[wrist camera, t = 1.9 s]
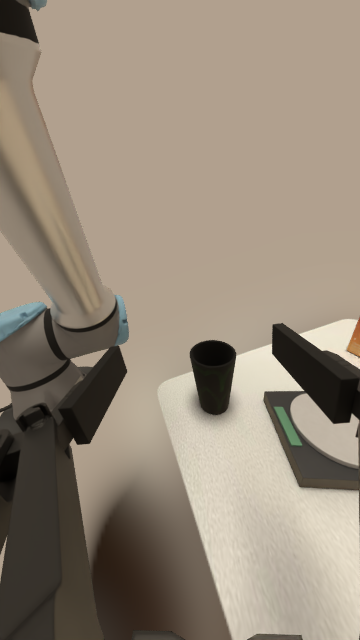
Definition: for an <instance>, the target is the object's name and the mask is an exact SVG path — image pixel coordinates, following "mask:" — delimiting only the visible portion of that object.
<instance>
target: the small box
mask: <svg viewBox="0 0 360 640" xmlns="http://www.w3.org/2000/svg"><path fill="white" fill-rule="evenodd" d="M347 351H349V352H351V353H353V354H355V355H357V356H359V357H360V318H359V320H358V322H357V325H356V327H355V330H354V332H353V335H352V338H351V340H350V343H349V345H348V348H347Z"/></svg>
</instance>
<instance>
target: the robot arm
mask: <svg viewBox="0 0 360 640" xmlns="http://www.w3.org/2000/svg"><path fill="white" fill-rule="evenodd" d="M46 3H47V0H0V231H1V233H2V234H3V235H4V237H5V238H6V239H7V241H8V242H9V243H10V245H11V246H12V247H13V249H14V250H15V252H16V253H17V254H18V256H19V257H20V258H21V260H22V261H23V262H24V264H25V265H26V266H27V268H28V269H29V270H30V272H31V273H32V275H33V276H34V277H35V279H36V280H37V281H38V283H39V284H40V286H41V287H42V288H43V290H44V291H45V292H46V294H47V295H48V296H49V298H50V299H51V300H52V304H51V308H50V309H47V306H46V305H45V304H44V303H42V302H35V303H30V304H26V305H23V306H19V307H17V308H13V309H11V310H8V311H5V312H3V313H0V378H1V379H2V380H3V382H4V383H5V384H6V386H7V387H8V388H9V390H10V392H11V399H12V404H11V405H8V406H6V407H4V408H1V409H0V412H2V411H5V410H7V409H10V408H12V407H13V416H14V418H15V421H16V423H17V424H18V426H19V427H20V429H21V430H22V431H21V432H18V433H15V434H11V432H10V431H9V430H8V429H1V430H0V554H1V551H2V548H3V545H4V543H5V540H6V537H7V542H6V548H5V555H4V561H3V568H2V575H1V582H0V640H104V636H103V633H102V630H101V627H100V624H99V621H98V617H97V612H96V606H95V599H94V593H93V587H92V580H91V573H90V567H89V560H88V553H87V547H86V540H85V534H84V527H83V521H82V514H81V508H80V501H79V494H78V488H77V482H76V475H75V468H74V462H73V455H72V449H71V447H70V445H69V444H70V442H71V441H72V439H73V438H74V440H75V441H76V443H77V445H80V444H90V442H91V440H92V438H93V436H94V434H95V432H96V430H97V429H98V427H99V425H100V423H101V421H102V419H103V417H104V415H105V413H106V411H107V409H108V407H109V406H110V404H111V402H112V400H113V398H114V396H115V394H116V392H117V390H118V388H119V386H120V384H121V382H122V381H123V379H124V377H125V375H126V373H127V369H126V366H125V363H124V360H123V357H122V354H121V351H120V348H119V346H118V345H121V344H123V343H125V342H126V341H127V340H128V337H129V330H128V322H127V315H126V310H125V305H124V302H123V299H122V297H121V296H120V295H114V294H113V292H112V291H111V290H110V289H109V288H107V287H106V286H104V285H102V282H101V279H100V277H99V274H98V271H97V268H96V265H95V262H94V260H93V257H92V254H91V251H90V249H89V246H88V243H87V240H86V237H85V234H84V232H83V229H82V226H81V223H80V220H79V217H78V214H77V212H76V209H75V206H74V203H73V200H72V198H71V195H70V192H69V189H68V187H67V184H66V181H65V178H64V175H63V172H62V170H61V167H60V164H59V161H58V158H57V155H56V153H55V150H54V147H53V144H52V141H51V139H50V136H49V133H48V130H47V127H46V125H45V122H44V119H43V116H42V113H41V110H40V108H39V105H38V102H37V99H36V97H35V94H34V90H33V85H32V79H33V76H34V73H35V70H36V67H37V64H38V60H39V58H40V55H41V49H40V46H39V42H38V39H37V36H36V33H35V29H34V26H33V22H32V19H31V16H30V12H29V7H32V9H36V10H37V11H39V9H40V8H41V7H44V6H46ZM272 334H273V335H272V338H273V339H272V354H273V355H274V356H275V358H276V359H277V360H278V361H279V362H280V363H281V365H282V366H283V367H284V368H285V369H286V370H287V371H288V373H289V374H290V375H291V376H292V377H293V378H294V379H295V381H296V382H297V383H298V384H299V385H300V386H301V387H302V389H303V390H304V391H305V392H306V393H307V394H308V396H309V397H310V398H311V399H312V400H313V401H314V402H315V404H316V405H317V406H318V407H319V408H320V409H321V410H322V412H323V413H324V414H325V415H326V416H327V417H328V418H329V420H330V421H331V422H332V423H333V424H340V423H350V420H351V415H352V414H353V415H354V416H355V417H356V418H357V419H358V420H359V424H358V428H357V432H356V436H355V437H357V438H358V457H359V523H360V369H358V368H357V367H355V366H354V365H352V364H351V363H349V362H348V361H345V359H343V358H342V357H340V356H339V355H337V354H334V353H332V352H329V351H321V350H320V349H318V348H317V347H315V346H314V345H313V344H311V343H310V342H308V341H307V340H306V339H304V338H303V337H301V336H300V335H298V334H297V333H296V332H294V331H293V330H291V329H290V328H288V327H287V326H286V325H284V324H283V323H281V324H273V332H272ZM108 348H109V350H108V351H107V352H106V353H105V354H104V355H103V356H102V358H101V359H100V360H99V361H98V362H97V364H96V365H95V366H94V367H93V368H92V369H91V371H90V372H89V373H88V374H87V375H86V374H85V373H84V372H83V371H81V370H80V369H79V368H78V367H77V366H76V365H75V364H74V363H72V362H71V360H70V359H71V358H75V357H79V356H82V355H85V354H89V353H93V352H97V351H100V350H104V349H108ZM7 534H8V535H7ZM132 640H185V639H183V638H181V637H179V636H178V635H176V634H175V633H173V632H172V631H141V630H140V631H139V630H133V635H132ZM247 640H303V639H302V636H301V635H277V634H256V635H254V636H253V637H251V638H249V639H247ZM359 640H360V636H359Z"/></svg>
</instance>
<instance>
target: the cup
mask: <svg viewBox="0 0 360 640" xmlns="http://www.w3.org/2000/svg"><path fill="white" fill-rule="evenodd" d="M190 358H191V363H192V368H193V373H194V377H195V382H196V387H197V391H198V396H199V401H200V405H201V407H202V409H203V410H204V411H205V412H207V413H209V414H212V415H218V414H222V413H224V412H225V411H226V410H227V408H228V405H229V399H230V392H231V386H232V379H233V373H234V367H235V360H236V352H235V349H234V348H233V347H232V346H230V345H229V344H227V343H225V342H222V341H215V340H209V341H204V342H200V343H198V344H196V345H195V346H194V347H193V348H192V349H191V351H190Z"/></svg>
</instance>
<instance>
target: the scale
mask: <svg viewBox="0 0 360 640" xmlns="http://www.w3.org/2000/svg"><path fill="white" fill-rule="evenodd" d="M264 402H265V404H266V407H267V409H268V412H269V414H270V416H271V419H272V421H273V424H274V426H275V428H276V431H277V433H278V436H279V438H280V441H281V443H282V445H283V448H284V450H285V453H286V455H287V457H288V460H289V462H290V465H291V467H292V469H293V472H294V474H295V477H296V479H297V481H298V484H299V486H300V487H313V488H331V489H349V490H359V457H358V438H357V437H355V436H356V432H357V428H358V424H359V420H358V419H357V418H356V417H355V416H354V415H353V414H352V415H351V420H350V423H340V424H333V423H332V422H331V421H330V420H329V418H328V417H327V416H326V415H325V414H324V413H323V412H322V410H321V409H320V408H319V407H318V406H317V405H316V404H315V402H314V401H313V400H312V399H311V398H310V397H309V396H308V394H307V393H306V392H305V391H274V392H265V393H264Z"/></svg>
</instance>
